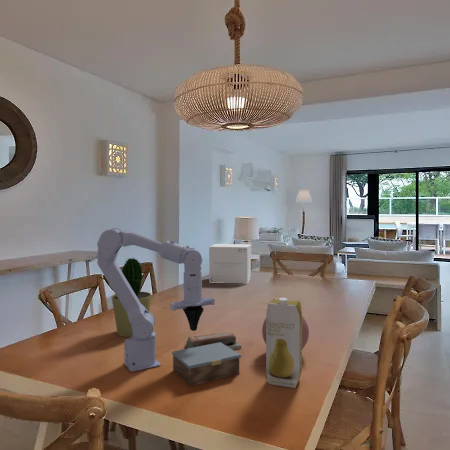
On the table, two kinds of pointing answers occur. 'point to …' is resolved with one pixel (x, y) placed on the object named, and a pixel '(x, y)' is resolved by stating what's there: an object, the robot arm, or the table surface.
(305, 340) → the balloon
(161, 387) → the table surface
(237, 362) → the box
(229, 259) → the cube
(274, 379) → the juice carton
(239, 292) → the table surface
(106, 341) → the table surface
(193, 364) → the lid
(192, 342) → the packaged product
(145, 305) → the potted cactus
